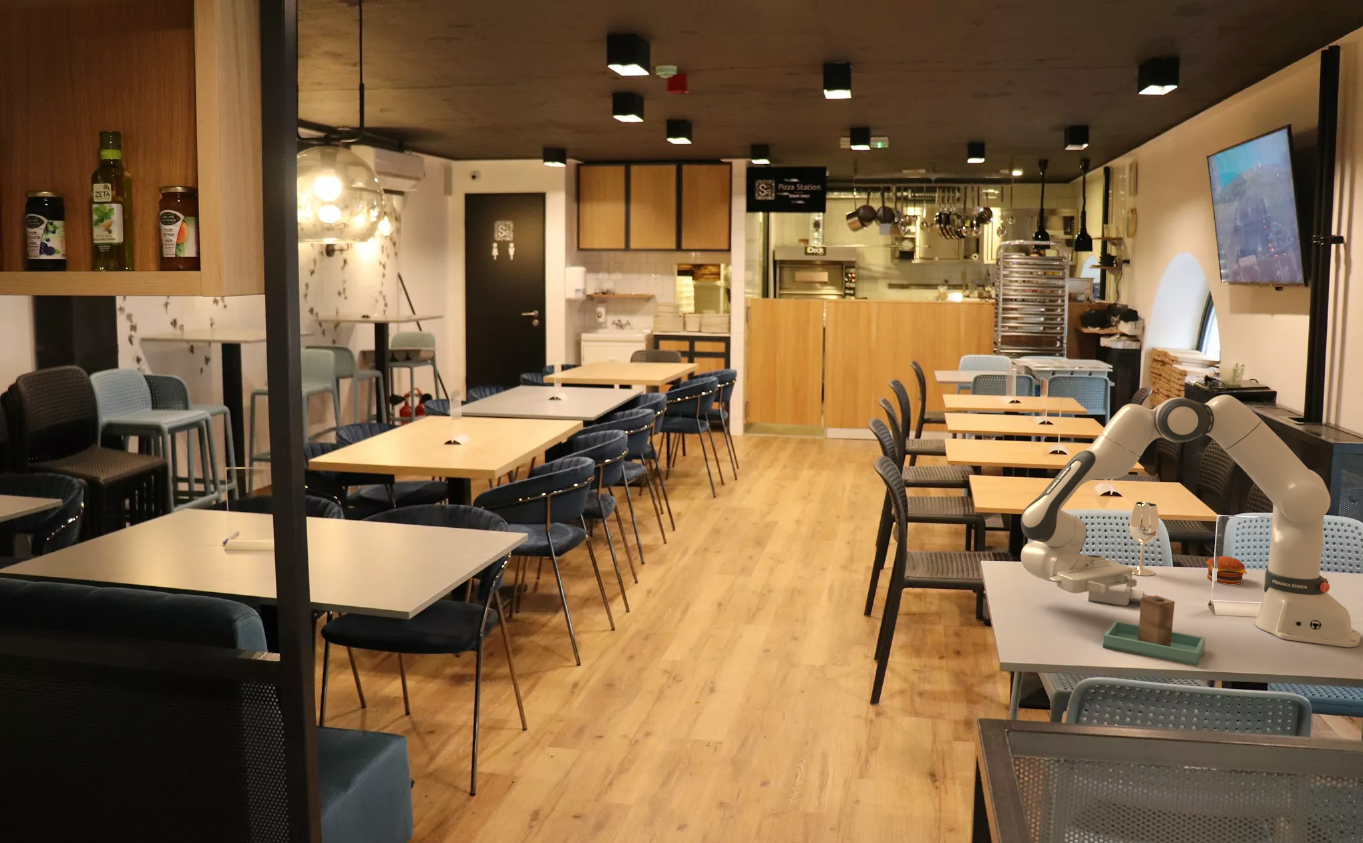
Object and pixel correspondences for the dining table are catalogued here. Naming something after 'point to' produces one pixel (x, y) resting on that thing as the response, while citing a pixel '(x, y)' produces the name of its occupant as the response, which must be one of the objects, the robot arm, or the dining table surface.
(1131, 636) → the tray
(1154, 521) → the wineglass
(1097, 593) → the charger
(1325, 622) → the robot arm
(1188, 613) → the dining table surface
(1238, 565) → the hamburger
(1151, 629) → the block
